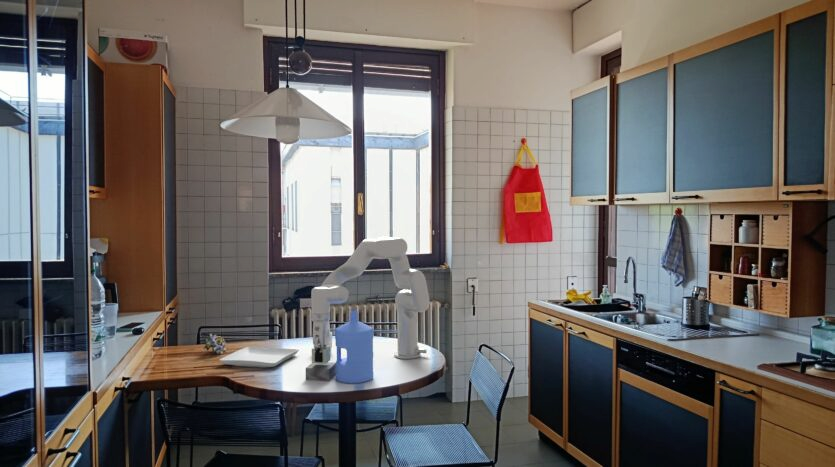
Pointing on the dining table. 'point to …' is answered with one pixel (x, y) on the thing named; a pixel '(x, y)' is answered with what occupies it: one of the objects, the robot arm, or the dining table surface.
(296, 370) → the dining table surface
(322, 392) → the dining table surface
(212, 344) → the passion flower
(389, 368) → the dining table surface
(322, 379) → the block
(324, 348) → the sage cube
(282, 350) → the square plate
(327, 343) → the white cup
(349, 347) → the water jug
